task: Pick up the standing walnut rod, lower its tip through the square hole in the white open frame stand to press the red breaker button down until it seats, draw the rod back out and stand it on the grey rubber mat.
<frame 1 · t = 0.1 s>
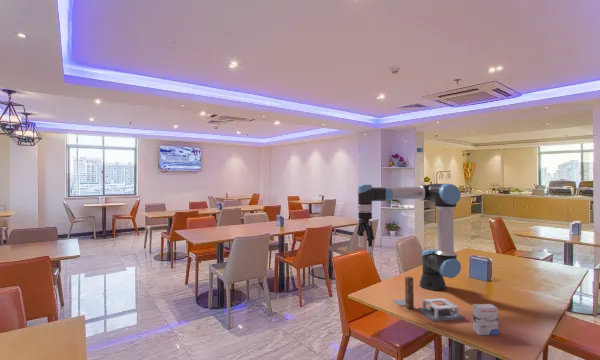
hand: (365, 249, 180), 28 cm above the table, fingers open, 13 cm apart
mat: (403, 302, 175), on the table
ink box: (485, 333, 140), on the table
white open frame stand: (440, 314, 160), on the table
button: (440, 307, 160), point 4 cm above the table, slide at 0.0 cm
walnut rod: (409, 307, 168), on the table
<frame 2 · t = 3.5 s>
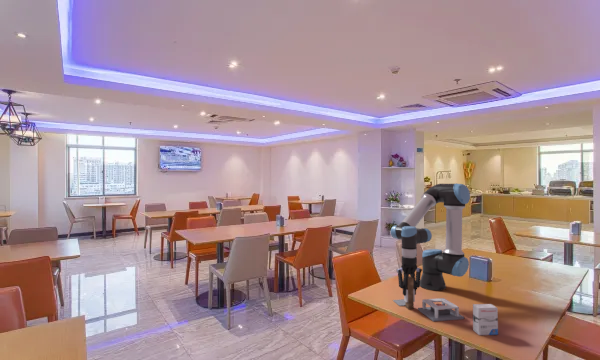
hand: (409, 301, 168), 4 cm above the table, fingers closed on walnut rod, 3 cm apart
walnut rod: (409, 307, 168), on the table, touching gripper
everything else where it was.
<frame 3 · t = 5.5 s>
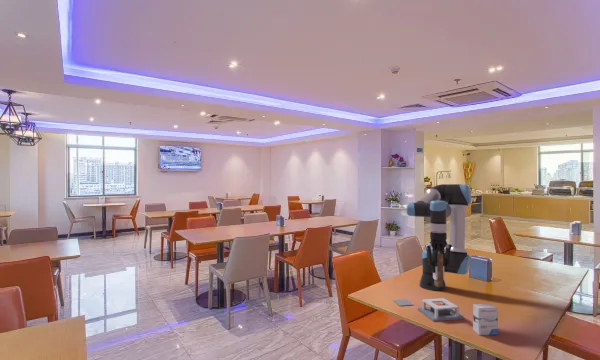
hand: (438, 278, 160), 18 cm above the table, fingers closed on walnut rod, 3 cm apart
walnut rod: (438, 285, 160), point 14 cm above the table, touching gripper
everything else where it was.
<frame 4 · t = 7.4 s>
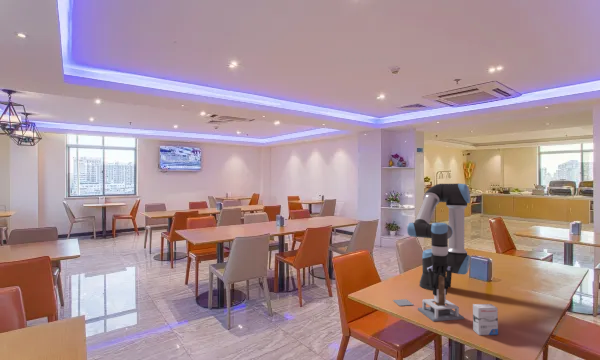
hand: (439, 301, 159), 6 cm above the table, fingers closed on walnut rod, 3 cm apart
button: (440, 310, 160), point 2 cm above the table, slide at 1.6 cm, touching white open frame stand, walnut rod
walnut rod: (440, 308, 159), point 3 cm above the table, touching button, gripper
everything else where it was.
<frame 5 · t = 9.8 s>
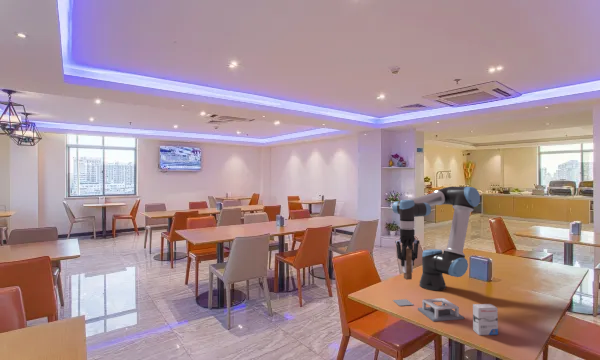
hand: (407, 272, 173), 17 cm above the table, fingers closed on walnut rod, 3 cm apart
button: (440, 310, 160), point 2 cm above the table, slide at 1.6 cm, touching white open frame stand
walnut rod: (407, 278, 173), point 14 cm above the table, touching gripper
everything else where it was.
when the fingers open (5 cm above the table, at t = 12.1 s): walnut rod drops 1 cm, resting on mat.
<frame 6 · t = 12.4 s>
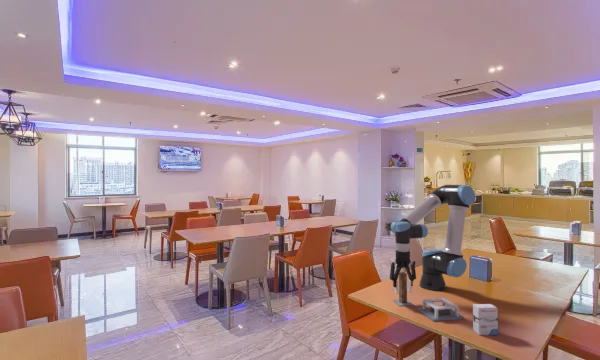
hand: (403, 292, 175), 6 cm above the table, fingers open, 7 cm apart
walnut rod: (403, 302, 174), resting on mat
everything else where it was.
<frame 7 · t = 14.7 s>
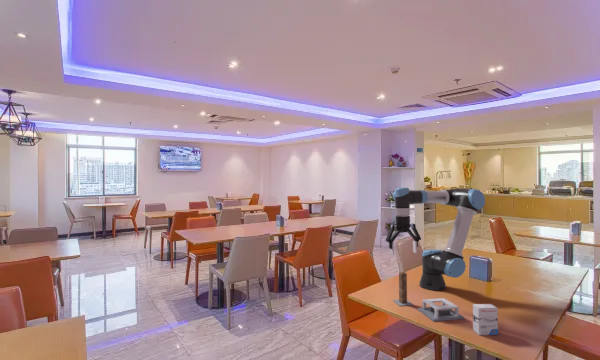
hand: (403, 253, 178), 26 cm above the table, fingers open, 13 cm apart
nothing on the table moved.
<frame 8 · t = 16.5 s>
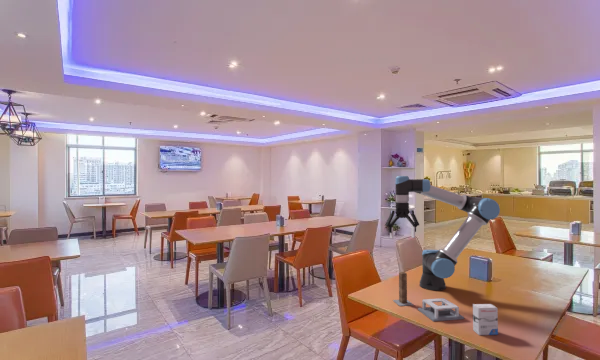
hand: (402, 238, 190), 33 cm above the table, fingers open, 13 cm apart
nothing on the table moved.
at the end: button slide at 1.6 cm; walnut rod inside the target area on the mat (0.0 cm from its centre), point 0.4 cm above the mat's base; walnut rod tilted 0° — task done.
